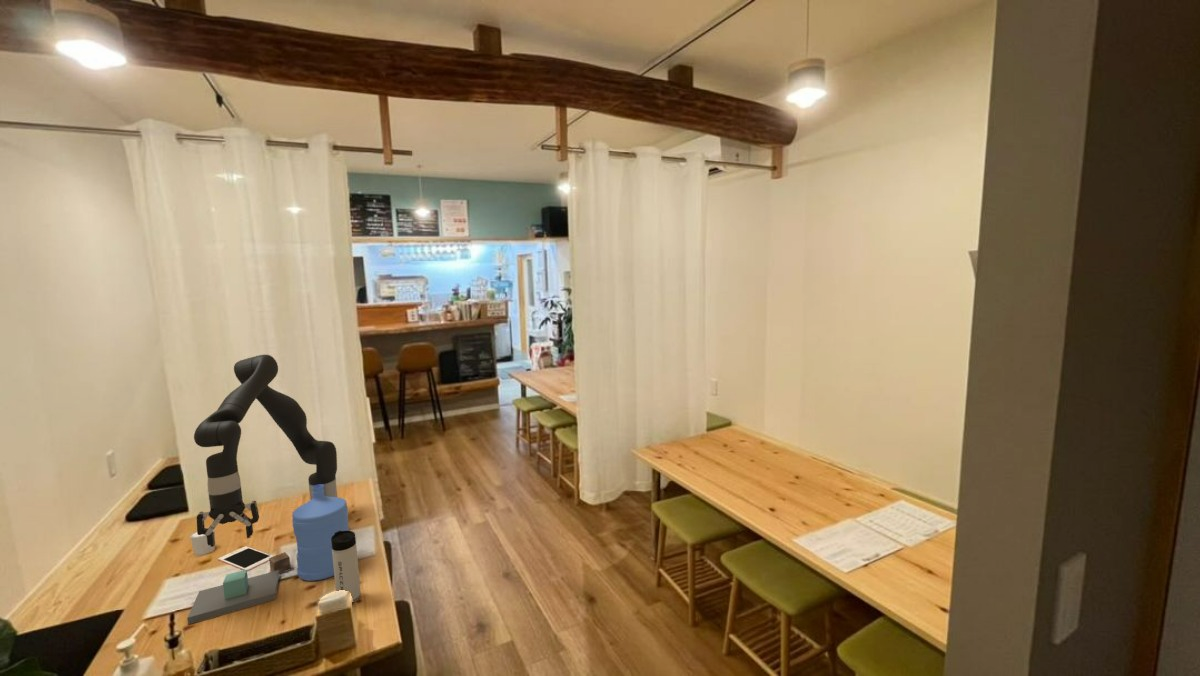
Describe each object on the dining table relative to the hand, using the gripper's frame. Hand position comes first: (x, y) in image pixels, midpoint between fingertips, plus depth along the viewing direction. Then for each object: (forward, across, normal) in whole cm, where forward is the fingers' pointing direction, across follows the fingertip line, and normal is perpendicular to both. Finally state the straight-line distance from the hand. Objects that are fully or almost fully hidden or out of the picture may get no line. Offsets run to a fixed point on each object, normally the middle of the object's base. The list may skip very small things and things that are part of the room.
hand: (231, 541), depth 141 cm
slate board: (+18, 0, 0) cm, 18 cm away
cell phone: (+19, +1, -26) cm, 32 cm away
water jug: (+18, -23, -4) cm, 29 cm away
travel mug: (+18, -29, +19) cm, 39 cm away
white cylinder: (+18, +15, -41) cm, 47 cm away
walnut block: (+18, -10, -11) cm, 23 cm away
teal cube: (+16, 0, 0) cm, 16 cm away
